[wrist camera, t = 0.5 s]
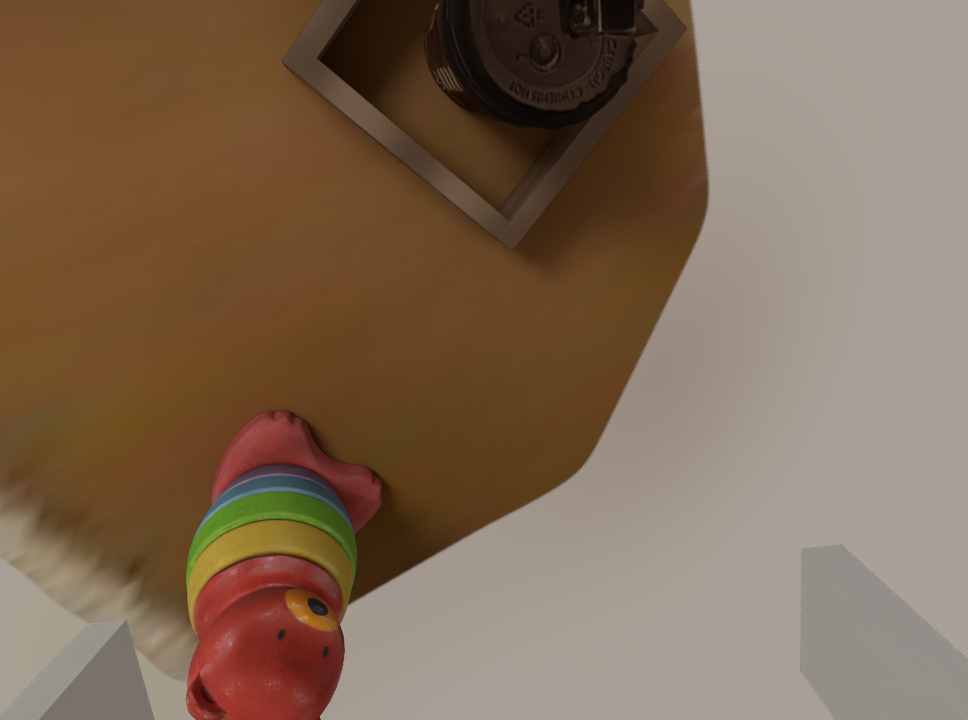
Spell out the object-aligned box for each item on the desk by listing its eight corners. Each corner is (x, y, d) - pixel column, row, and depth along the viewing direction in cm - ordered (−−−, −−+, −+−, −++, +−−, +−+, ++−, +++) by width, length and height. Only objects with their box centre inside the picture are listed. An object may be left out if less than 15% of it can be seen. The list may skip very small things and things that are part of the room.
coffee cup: (579, 28, 36) (703, -18, 24) (506, 157, 37) (589, 173, 26) (452, -72, 33) (522, -182, 21) (378, 74, 34) (406, 48, 22)
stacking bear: (395, 486, 44) (435, 698, 28) (298, 580, 45) (282, 840, 29) (273, 395, 39) (235, 585, 23) (168, 502, 40) (62, 757, 24)
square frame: (285, 66, 33) (280, 60, 30) (461, -190, 31) (476, -226, 28) (497, 240, 39) (512, 251, 36) (656, 36, 37) (687, 28, 34)
